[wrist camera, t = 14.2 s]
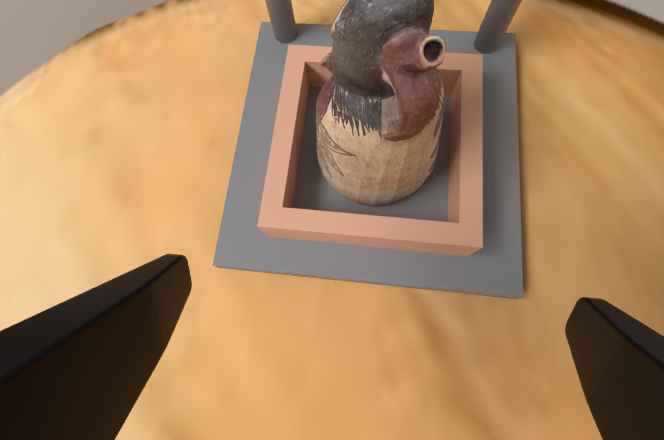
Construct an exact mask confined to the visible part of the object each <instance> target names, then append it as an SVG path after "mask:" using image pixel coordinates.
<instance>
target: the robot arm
mask: <svg viewBox="0 0 664 440" xmlns="http://www.w3.org/2000/svg"><path fill="white" fill-rule="evenodd" d="M191 287H192V282H191V276H190V271H189V266H188V261H187V258H186V257H185V256H183V255H177V254H166V255H164V256H162V257H160V258H157V259H155V260H153V261H151V262H149V263H147V264H144V265H142V266H140V267H138V268H136V269H134V270H131V271H129V272H127V273H125V274H123V275H121V276H118V277H116V278H114V279H112V280H110V281H108V282H105V283H103V284H101V285H99V286H97V287H95V288H92V289H90V290H88V291H86V292H84V293H82V294H79V295H77V296H75V297H73V298H71V299H69V300H66V301H64V302H62V303H60V304H58V305H56V306H53V307H51V308H49V309H47V310H45V311H43V312H40V313H38V314H36V315H34V316H32V317H30V318H27V319H25V320H23V321H21V322H19V323H17V324H14V325H12V326H10V327H8V328H6V329H4V330H2V331H0V440H115V438H116V436H117V435H118V433H119V431H120V429H121V428H122V426H123V424H124V422H125V420H126V419H127V417H128V415H129V413H130V412H131V410H132V408H133V406H134V404H135V403H136V401H137V399H138V397H139V396H140V394H141V392H142V390H143V388H144V387H145V385H146V383H147V381H148V380H149V378H150V376H151V374H152V372H153V371H154V369H155V367H156V365H157V364H158V362H159V360H160V358H161V356H162V355H163V353H164V351H165V349H166V347H167V345H168V343H169V341H170V338H171V336H172V334H173V331H174V329H175V327H176V324H177V322H178V320H179V317H180V315H181V313H182V310H183V308H184V306H185V303H186V301H187V299H188V296H189V294H190V291H191ZM565 332H566V337H567V340H568V344H569V347H570V350H571V353H572V357H573V360H574V363H575V366H576V370H577V373H578V376H579V379H580V383H581V386H582V389H583V392H584V395H585V398H586V401H587V403H588V406H589V408H590V411H591V413H592V416H593V418H594V420H595V423H596V425H597V427H598V430H599V432H600V434H601V437H602V439H603V440H664V336H662V335H661V334H659V333H657V332H656V331H654V330H652V329H651V328H649V327H647V326H646V325H644V324H643V323H641V322H639V321H638V320H636V319H634V318H633V317H631V316H630V315H628V314H626V313H625V312H623V311H621V310H620V309H618V308H617V307H615V306H613V305H612V304H610V303H608V302H607V301H605V300H603V299H599V298H589V297H582V298H580V299H579V300H578V301H577V303H576V305H575V307H574V309H573V311H572V313H571V315H570V317H569V319H568V321H567V323H566V327H565Z"/></svg>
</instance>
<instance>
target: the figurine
mask: <svg viewBox="0 0 664 440" xmlns="http://www.w3.org/2000/svg"><path fill="white" fill-rule="evenodd" d="M433 12H434V0H347V1H346V2H345V4H344V5H343V7H342V8H341V10H340V11H339V13H338V15H337V17H336V19H335V20H334V22H333V24H332V28H331V36H332V38H333V45H332V52H330V53H328V54H327V55H326V56H325V57H323V59H322V61H321V66H323V67H326V68H327V69H328V70H329V71H330V73H331V77H330V79H329V80H328V81H327V82H326V83H325V84H324V85H323V87H322V89H321V91H320V93H319V96H318V99H317V102H316V126H317V155H318V161H319V164H320V167H321V170H322V173H323V176H324V177H325V179H326V181H327V182H328V184H329V185H330V186H331V187H332V188H333V189H334V190H335V191H336V192H337V193H339V194H340V195H341V196H343V197H344V198H346V199H348V200H351V201H353V202H356V203H358V204H363V205H369V206H385V205H391V204H393V203H396V202H398V201H400V200H403V199H405V198H406V197H408V196H409V195H411V194H412V193H413V192H415V191H416V190H418V189H419V188H420V187H421V185H422V184H423V183H424V181H425V180H426V179H427V177H428V176H429V175H430V173H431V171H432V169H433V166H434V163H435V159H436V156H437V151H438V146H439V140H440V135H441V128H442V119H443V108H444V89H443V84H442V81H441V78H440V75H439V72H438V69H437V66H439V65H440V64H442V62H443V59H444V56H445V53H446V42H445V39H444V38H442V37H441V36H439V35H436V34H429V29H430V26H431V22H432V17H433Z"/></svg>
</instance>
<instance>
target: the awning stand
mask: <svg viewBox="0 0 664 440" xmlns="http://www.w3.org/2000/svg"><path fill="white" fill-rule="evenodd" d="M265 1H266V5H267V8H268V12H269V16H270V19H271V22H261V26H260V31H259V36H258V41H257V46H256V51H255V56H254V61H253V66H252V71H251V76H250V81H249V86H248V91H247V96H246V101H245V106H244V111H243V116H242V121H241V126H240V131H239V136H238V141H237V146H236V151H235V156H234V161H233V166H232V171H231V176H230V181H229V186H228V191H227V196H226V201H225V206H224V211H223V216H222V221H221V226H220V231H219V236H218V241H217V246H216V251H215V256H214V261H213V266H216V267H218V268H227V269H236V270H246V271H255V272H265V273H274V274H284V275H293V276H303V277H312V278H322V279H331V280H341V281H350V282H360V283H370V284H379V285H389V286H398V287H408V288H417V289H427V290H436V291H446V292H455V293H465V294H474V295H484V296H493V297H503V298H512V299H518V298H523V268H522V236H521V204H520V172H519V139H518V107H517V75H516V43H515V34H512V33H505V32H506V30H507V28H508V26H509V24H510V22H511V20H512V18H513V16H514V14H515V13H516V11H517V9H518V7H519V5H520V3H521V1H522V0H492V1H491V3H490V5H489V8H488V10H487V12H486V15H485V17H484V19H483V22H482V24H481V26H480V29H479V31H478V32H468V31H447V30H429V34H436V35H439V36H441V37H442V38H444V39H445V42H446V53H445V56H444V59H443V62H442V64H440V65H439V66H437V69H438V72H439V75H440V78H441V81H442V84H443V89H444V108H443V119H442V128H441V135H440V140H439V146H438V151H437V156H436V159H435V163H434V166H433V169H432V171H431V173H430V175H429V176H428V177H427V179H426V180H425V181H424V183H423V184H422V185H421V187H420V188H419V189H418V190H416V191H415V192H413V193H412V194H411V195H409V196H408V197H406V198H405V199H403V200H400V201H398V202H396V203H393V204H391V205H385V206H369V205H363V204H358V203H356V202H353V201H351V200H348V199H346V198H344V197H343V196H341V195H340V194H339V193H337V192H336V191H335V190H334V189H333V188H332V187H331V186H330V185H329V184H328V182H327V181H326V179H325V177H324V176H323V173H322V170H321V167H320V164H319V161H318V155H317V126H316V102H317V99H318V96H319V93H320V91H321V89H322V87H323V85H324V84H325V83H326V82H327V81H328V80H329V79H330V77H331V73H330V71H329V70H328V69H327V68H326V67H323V66H321V61H322V59H323V57H325V56H326V55H327V54H328V53H330V52H332V45H333V38H332V36H331V28H332V25H318V24H296V23H295V20H294V14H293V9H292V4H291V0H265Z"/></svg>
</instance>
